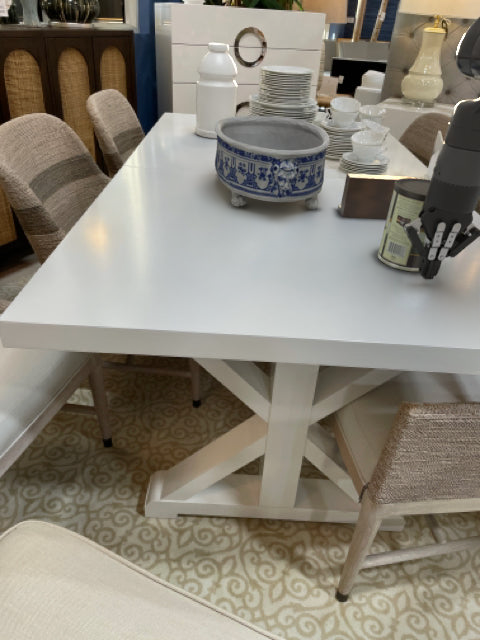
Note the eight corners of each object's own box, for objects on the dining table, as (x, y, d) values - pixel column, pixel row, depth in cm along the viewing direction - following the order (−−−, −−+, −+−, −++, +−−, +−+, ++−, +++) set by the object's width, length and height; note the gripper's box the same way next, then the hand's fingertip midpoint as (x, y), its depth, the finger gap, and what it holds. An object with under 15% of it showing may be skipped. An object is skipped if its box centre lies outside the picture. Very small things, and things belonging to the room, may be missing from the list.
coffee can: (432, 254, 93) (455, 183, 85) (431, 276, 84) (456, 200, 77) (379, 243, 95) (397, 174, 88) (373, 264, 87) (392, 189, 79)
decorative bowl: (342, 223, 103) (356, 153, 95) (222, 222, 99) (226, 149, 91) (296, 168, 138) (303, 113, 130) (205, 165, 134) (207, 108, 126)
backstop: (403, 212, 112) (413, 174, 107) (410, 220, 108) (421, 181, 103) (337, 209, 111) (344, 170, 106) (342, 217, 107) (350, 177, 102)
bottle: (238, 133, 172) (244, 44, 157) (229, 141, 161) (234, 46, 146) (202, 128, 174) (203, 41, 159) (190, 136, 163) (191, 42, 148)
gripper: (426, 182, 68) (396, 286, 77) (513, 186, 69) (473, 289, 79) (407, 167, 74) (382, 266, 84) (487, 171, 75) (453, 268, 85)
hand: (426, 277), depth 81 cm, fingers closed
